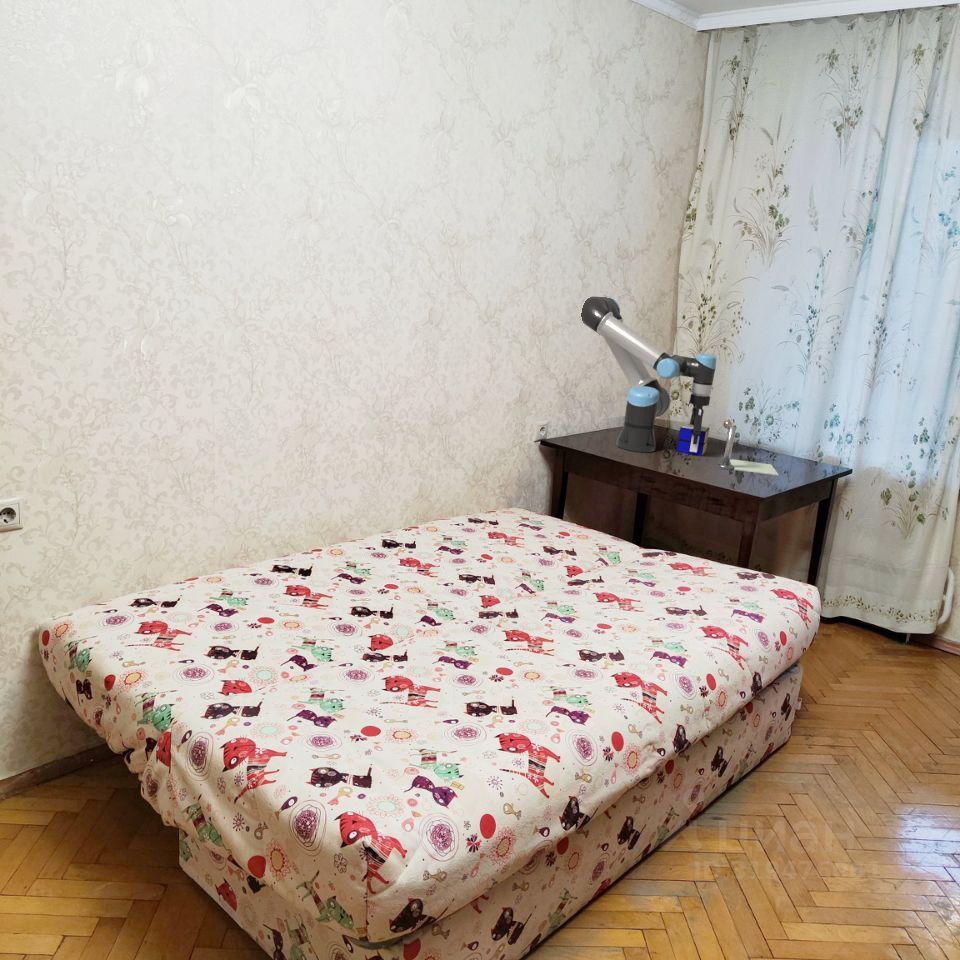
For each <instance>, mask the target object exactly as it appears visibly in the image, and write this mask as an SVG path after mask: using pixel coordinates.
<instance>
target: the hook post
mask: <svg viewBox="0 0 960 960" xmlns="http://www.w3.org/2000/svg"><path fill="white" fill-rule="evenodd" d="M723 427H724V429H727V431H728V432H727V438H726V442H725V443H726V444H725V450H724V455H723V460H722V462H717V464H716V465H717V466H716V467H717V468H719V469H723V470H729V471H730V470H731V471H732V470H733V471H734V465H731V463H730V459H731V456H732V451H733V447H734V442H735V436H736V435H735V434H736V429H737V426H733V422H732V421H731V420H729V419H726V420H724V422H723Z"/></svg>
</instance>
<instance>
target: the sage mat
mask: <svg viewBox="0 0 960 960" xmlns="http://www.w3.org/2000/svg"><path fill="white" fill-rule="evenodd" d="M729 464H731V465H734V469H733V471H740V472H749V473H754V474H761V475H762V474H763V475H771V476H777V477H778V476H779V473H778V472H777V470H776V469H775V468H774V467H773V465H772V464H771V463H770V464H769V463H762V462H755V461H748V460H740V459H731V458H730V463H729Z"/></svg>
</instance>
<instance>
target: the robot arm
mask: <svg viewBox="0 0 960 960" xmlns="http://www.w3.org/2000/svg"><path fill="white" fill-rule="evenodd" d="M589 297H590V298H588V297H587V298H588V299H587V300H586V301H585V303H584V305H583V308H582V313H581V317H582V321H583V322H582V321H581V322H582V323H583V324H584V325H585V326H586V327H588V328H589V329H591V330H593V331H594V332H595V333H596V334H597V333H598V334H599V335H598V334H597V335H598V336H600V335H601V337H603V339H604V340H605V342H606V344H607V346H608V347H609V349H610V351H611V353H612V355H613V356H614V358H615V360H616V362H617V363H618V365H619V366H620V369H621V371H622V372H623V374H624V376H625V378H626V379H627V382H628V383H629V385H630V386H631V388H630V389H629V390H628V394H627V397H626V408H625V413H624V420H623V427H622V429H621V431H620V433H619V435H618V437H617V439H616V443H615V445H616V447H618V448H619V449H620V448H621V449H623V450H626V451H631V452H637V453H638V452H639V453H651V452H655V451H656V438H655V432H654V429H655V424H656V418H658V417H661V416H662V415H664V414H665V413H666V412H667V411H668V409H669V408H670V406H671V396H670V393H669V392H668V390H667V389H666V388H664V387H662V385H661V384H660V382H659V381H658V379H657V378H656V377H653V376H651V374H650V373H649V370H648V369H647V367H646V365H647V366H648V367H650V368H652V369H653V370H655V371H656V373H657V375H658V376H659V378H662V379H665V380H670V379H671V380H672V379H674V378H676V377H689V378H692V384H691V391H690V392H691V394H690V395H689V396H690V397H689V403H690V404H691V405H693V407H692V410H691V412H692V413H691V416H690V422H689V424H691V425H694V428H693V433H691V435H692V439H691V445H690V452H697V448H698V442H699V436H700V435H701V426H702V425H703V417H704V411H705V410H704V409H703V407H708V406H709V405H710V401H711V396H710V395H711V394H712V390H714V387H713V382H714V377H715V372H716V364H717V357H716V356H715V355H713V354H709V353H698V354H697V355H696V357H688V356H684V355H683V356H682V355H678V354H668V353H666V352H665V351H664V350H663V349H661V348H660V347H658V346H657V345H656V344H654V343H652V342H651V341H649V340H648V339H647V338H646V337H644V336H642V335H641V334H639V333H638V332H637V331H635V330H634V329H633V328H631V327H629V326H628V325H626V324H625V323H623V322H624V319H623V317H622V315H621V307H620V305H619V303H618V302H617V301H616V300H615V299H614V298H613V297H610V296H608V297H609V298H607V297H599V296H589ZM612 298H613V299H612ZM644 363H645V364H646V365H645V364H644Z"/></svg>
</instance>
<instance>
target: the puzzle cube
mask: <svg viewBox="0 0 960 960" xmlns="http://www.w3.org/2000/svg"><path fill="white" fill-rule="evenodd" d="M693 428H694V425H691V424H690V423H684V424H683V425H682V426H680V427H679V432H678V440H677V445H676V452H677V453H682V454H687V455H692V456H696V457H697V456H698V457H702V456H703V455H704V454H705V453H706V452H707V446H708V438H709V433H710V429H711V428H710V427H709V426H708V427H707V426H702V425H701V435H700V436H699V442H698V448H697V452H690V445H691V439H692V435H691V433H693Z"/></svg>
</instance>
